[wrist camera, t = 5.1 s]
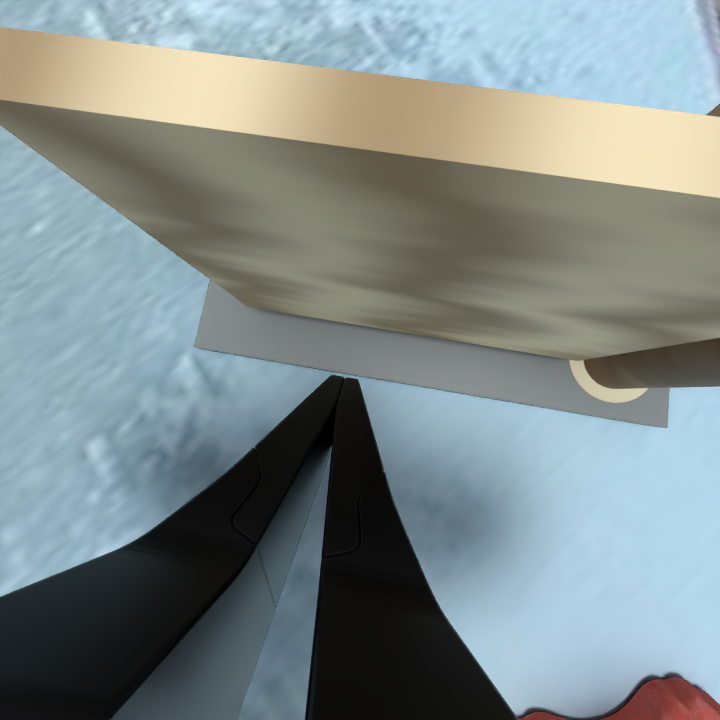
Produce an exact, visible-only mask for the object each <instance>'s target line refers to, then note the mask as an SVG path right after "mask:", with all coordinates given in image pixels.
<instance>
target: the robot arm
mask: <svg viewBox="0 0 720 720" xmlns="http://www.w3.org/2000/svg"><path fill="white" fill-rule="evenodd" d="M331 449H332V451H331ZM330 452H331V462H330V472H329V483H328V494H327V504H326V515H325V526H324V536H323V547H322V558H321V568H320V579H319V589H318V599H317V608H316V618H315V627H314V637H313V647H312V656H311V666H310V675H309V685H308V694H307V704H306V713H305V720H519V719H518V718H517V717H516V715H515V714H514V712H513V711H512V710H511V708H510V707H509V705H508V704H507V703H506V701H505V700H504V698H503V697H502V695H501V694H500V693H499V691H498V690H497V688H496V687H495V686H494V684H493V683H492V681H491V680H490V679H489V677H488V676H487V674H486V673H485V672H484V670H483V669H482V667H481V666H480V664H479V663H478V662H477V660H476V659H475V657H474V656H473V655H472V653H471V652H470V650H469V649H468V648H467V646H466V645H465V643H464V642H463V640H462V639H461V638H460V636H459V635H458V633H457V632H456V631H455V629H454V628H453V626H452V625H451V624H450V622H449V621H448V619H447V618H446V616H445V615H444V613H443V611H442V610H441V608H440V606H439V604H438V602H437V601H436V599H435V597H434V595H433V593H432V591H431V589H430V587H429V584H428V582H427V580H426V578H425V575H424V573H423V571H422V568H421V566H420V564H419V561H418V559H417V557H416V554H415V552H414V550H413V547H412V545H411V543H410V540H409V538H408V536H407V533H406V531H405V529H404V526H403V524H402V521H401V519H400V516H399V514H398V511H397V508H396V506H395V503H394V500H393V497H392V494H391V491H390V488H389V485H388V481H387V478H386V474H385V472H384V468H383V464H382V461H381V457H380V454H379V450H378V447H377V443H376V440H375V436H374V433H373V429H372V426H371V422H370V419H369V415H368V412H367V408H366V405H365V401H364V398H363V394H362V391H361V387H360V384H359V381H358V380H357V379H353V378H345V379H344V377H341V376H336V375H331V376H330V377H329V378H328V379H326V380H325V381H324V382H323V383H322V384H321V385H320V386H319V387H318V388H317V389H316V390H315V391H314V392H313V393H311V394H310V395H309V396H308V397H307V398H306V399H305V400H304V401H303V402H302V403H301V404H300V405H299V406H298V407H296V408H295V409H294V410H293V411H292V412H291V413H290V414H289V415H288V416H287V417H286V418H285V419H284V420H283V421H281V422H280V423H279V424H278V425H277V426H276V427H275V428H274V429H273V430H272V431H271V432H270V433H269V434H268V435H266V436H265V437H264V438H263V439H262V440H261V441H260V442H259V443H258V444H257V445H256V446H255V448H252V449H251V450H250V451H249V452H248V453H247V454H246V455H245V456H244V457H243V458H242V459H241V460H239V461H238V462H237V463H236V464H235V465H234V466H233V467H231V468H230V469H229V470H228V471H227V472H226V473H225V474H223V475H222V476H221V477H219V478H218V479H217V480H216V481H214V482H213V483H212V484H211V485H209V486H208V487H207V488H206V489H204V490H203V491H202V492H200V493H199V494H198V495H196V496H195V497H194V498H193V499H191V500H190V501H189V502H187V503H186V504H185V505H183V506H182V507H181V508H179V509H178V510H177V511H176V512H174V513H173V514H172V515H170V516H169V517H168V518H166V519H165V520H164V521H162V522H161V523H160V524H158V525H157V526H156V527H154V528H153V529H152V530H150V531H149V532H147V533H146V534H144V535H143V536H141V537H140V538H138V539H136V540H134V541H133V542H131V543H129V544H127V545H125V546H123V547H121V548H119V549H117V550H115V551H112V552H110V553H108V554H105V555H103V556H100V557H98V558H95V559H93V560H90V561H88V562H85V563H83V564H80V565H78V566H75V567H73V568H70V569H68V570H65V571H63V572H61V573H58V574H56V575H53V576H51V577H48V578H46V579H43V580H41V581H38V582H36V583H33V584H31V585H28V586H26V587H23V588H21V589H18V590H16V591H13V592H11V593H9V594H6V595H4V596H1V597H0V720H237V717H238V714H239V712H240V709H241V706H242V703H243V700H244V697H245V695H246V692H247V689H248V686H249V683H250V680H251V677H252V675H253V672H254V669H255V666H256V663H257V660H258V658H259V655H260V652H261V649H262V646H263V643H264V640H265V638H266V635H267V632H268V629H269V626H270V623H271V621H272V618H273V615H274V612H275V607H276V606H277V603H278V600H279V598H280V595H281V592H282V589H283V586H284V583H285V580H286V578H287V575H288V572H289V569H290V566H291V563H292V561H293V558H294V555H295V552H296V549H297V546H298V543H299V541H300V538H301V535H302V532H303V529H304V526H305V524H306V521H307V518H308V515H309V512H310V509H311V506H312V504H313V501H314V498H315V495H316V492H317V489H318V486H319V484H320V481H321V478H322V475H323V472H324V469H325V467H326V464H327V461H328V458H329V455H330Z"/></svg>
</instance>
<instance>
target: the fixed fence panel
mask: <svg viewBox="0 0 720 720" xmlns="http://www.w3.org/2000/svg"><path fill="white" fill-rule="evenodd" d="M707 115H708V116H716V117H720V104H719V105H718V106H717V107H715V108H714V109H713V110H712V111H711V112H709V113H708V114H707ZM583 361H584V366H585V369H586V371H587V373H588V374H589V376H590V377H591V378H592V379H593V380H594V381H595V382H596V383H598V384H599V385H601V386H603V387H606V388H610V389H633V388H673V387H713V386H720V338H715V339H708V340H702V341H696V342H690V343H684V344H678V345H672V346H665V347H659V348H653V349H647V350H641V351H635V352H629V353H623V354H616V355H610V356H604V357H598V358H592V359H586V360H583Z"/></svg>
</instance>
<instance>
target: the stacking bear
mask: <svg viewBox="0 0 720 720" xmlns="http://www.w3.org/2000/svg"><path fill="white" fill-rule="evenodd" d="M518 719H519V720H567V719H564V718H561V717H558V716H555V715H552V714H549V713H545V712H535V713H531V714H529V715H527V716H526V717H523V718H518ZM600 720H720V705H719V704H718V703H717V702H716V701H715V700H714V699H713V698H712V697H711V696H710V695H709V694H707V693H706V692H705V691H703V690H701V689H699V688H695V687H693V686H692V685H691V684H690V683H689V682H688V681H686V680H684V679H681V678H668V679H656V680H652V681H649V682H647V683H646V684H644V685H643V686H642V687H641V688H640V689H639V690H638V691H637V693H636V694H635V695H634V696H633V698H632V699H631V700H630V701H629V702H628V704H626V705H625V706H624V707H623V708H622V709H621V710H620V711H618V712H616V713H615V714H613V715H611V716H609V717H606V718H603V719H600Z"/></svg>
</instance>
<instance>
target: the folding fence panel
mask: <svg viewBox="0 0 720 720" xmlns="http://www.w3.org/2000/svg"><path fill="white" fill-rule="evenodd" d="M0 125H1V126H2V127H3V128H5V129H6V130H7V131H9V132H10V133H12V134H13V135H14V136H16V137H17V138H18V139H20V140H21V141H22V142H24V143H25V144H26V145H28V146H29V147H31V148H32V149H33V150H35V151H36V152H37V153H39V154H40V155H41V156H43V157H44V158H46V159H47V160H48V161H50V162H51V163H52V164H54V165H55V166H56V167H58V168H59V169H61V170H62V171H63V172H65V173H66V174H67V175H69V176H70V177H71V178H73V179H74V180H75V181H77V182H78V183H80V184H81V185H82V186H84V187H85V188H86V189H88V190H89V191H90V192H92V193H93V194H95V195H96V196H97V197H99V198H100V199H101V200H103V201H104V202H105V203H107V204H108V205H110V206H111V207H112V208H114V209H115V210H116V211H118V212H119V213H120V214H122V215H123V216H124V217H126V218H127V219H129V220H130V221H131V222H133V223H134V224H135V225H137V226H138V227H139V228H141V229H142V230H144V231H145V232H146V233H148V234H149V235H150V236H152V237H153V238H154V239H156V240H157V241H159V242H160V243H161V244H163V245H164V246H165V247H167V248H168V249H169V250H171V251H172V252H174V253H175V254H176V255H178V256H179V257H180V258H182V259H183V260H184V261H186V262H187V263H188V264H190V265H191V266H193V267H194V268H195V269H197V270H198V271H199V272H201V273H202V274H203V275H205V276H206V277H208V278H209V279H210V280H212V281H213V282H214V283H216V284H217V285H218V286H220V287H221V288H223V289H224V290H225V291H227V292H228V293H229V294H231V295H232V296H233V297H235V298H236V299H237V300H239V301H240V302H242V303H243V304H244V305H246V306H247V307H251V308H257V309H263V310H269V311H276V312H282V313H288V314H294V315H300V316H306V317H312V318H318V319H324V320H331V321H337V322H343V323H349V324H355V325H361V326H367V327H373V328H380V329H386V330H392V331H398V332H404V333H410V334H416V335H422V336H429V337H435V338H441V339H447V340H453V341H459V342H465V343H471V344H477V345H484V346H490V347H496V348H502V349H508V350H514V351H520V352H526V353H533V354H539V355H545V356H551V357H557V358H563V359H569V360H575V361H580V360H586V359H592V358H598V357H604V356H610V355H616V354H623V353H629V352H635V351H641V350H647V349H653V348H659V347H665V346H672V345H678V344H684V343H690V342H696V341H702V340H708V339H715V338H720V117H716V116H708V115H700V114H692V113H684V112H676V111H668V110H660V109H652V108H644V107H636V106H628V105H620V104H612V103H604V102H596V101H588V100H580V99H572V98H564V97H556V96H548V95H540V94H532V93H524V92H516V91H508V90H500V89H492V88H484V87H476V86H468V85H460V84H451V83H443V82H435V81H427V80H419V79H411V78H403V77H395V76H387V75H379V74H371V73H363V72H355V71H347V70H339V69H331V68H323V67H315V66H307V65H299V64H291V63H283V62H275V61H267V60H259V59H251V58H243V57H235V56H227V55H219V54H211V53H203V52H195V51H187V50H179V49H171V48H163V47H155V46H147V45H139V44H131V43H123V42H115V41H107V40H99V39H91V38H83V37H75V36H67V35H59V34H51V33H43V32H34V31H26V30H18V29H10V28H2V27H0Z"/></svg>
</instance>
